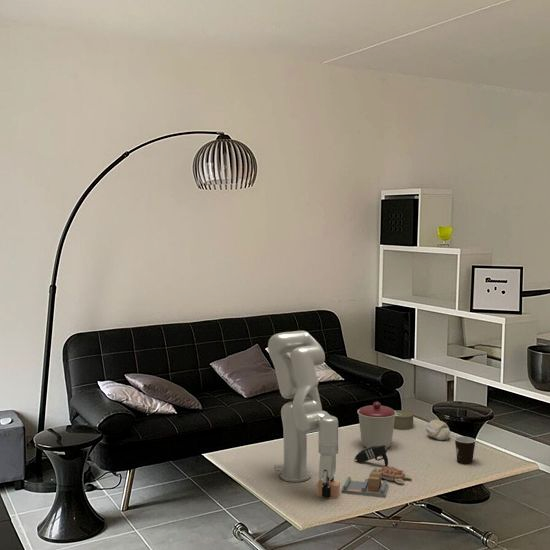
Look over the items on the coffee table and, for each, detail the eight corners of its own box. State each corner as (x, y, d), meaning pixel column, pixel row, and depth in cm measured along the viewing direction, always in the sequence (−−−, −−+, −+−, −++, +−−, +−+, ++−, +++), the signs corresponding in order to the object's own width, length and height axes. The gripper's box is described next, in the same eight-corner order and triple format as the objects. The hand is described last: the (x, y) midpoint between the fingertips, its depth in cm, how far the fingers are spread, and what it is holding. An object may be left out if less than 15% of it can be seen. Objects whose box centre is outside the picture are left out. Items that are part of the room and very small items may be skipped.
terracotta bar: (317, 496, 274) (317, 483, 274) (319, 492, 278) (319, 480, 278) (337, 498, 272) (337, 485, 272) (339, 494, 276) (339, 482, 275)
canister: (377, 455, 319) (378, 409, 317) (348, 445, 333) (349, 401, 331) (404, 447, 330) (404, 402, 328) (375, 437, 344) (375, 394, 342)
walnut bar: (371, 483, 284) (371, 471, 283) (381, 484, 283) (381, 472, 282) (368, 490, 276) (368, 478, 276) (378, 492, 275) (378, 479, 275)
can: (418, 428, 360) (418, 414, 359) (400, 431, 354) (400, 418, 353) (402, 421, 370) (403, 409, 369) (384, 425, 364) (384, 412, 363)
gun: (363, 473, 312) (353, 452, 314) (394, 463, 304) (384, 441, 306) (360, 475, 310) (350, 454, 311) (391, 465, 302) (381, 443, 303)
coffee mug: (474, 466, 305) (474, 443, 304) (453, 464, 308) (454, 441, 307) (475, 457, 316) (476, 435, 315) (455, 455, 319) (456, 433, 318)
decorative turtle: (384, 468, 304) (384, 457, 304) (419, 477, 294) (419, 465, 293) (361, 480, 290) (361, 468, 290) (396, 490, 280) (397, 478, 280)
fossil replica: (446, 443, 336) (452, 439, 344) (448, 426, 335) (455, 422, 344) (421, 437, 342) (429, 433, 351) (424, 420, 342) (431, 417, 350)
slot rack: (341, 492, 277) (341, 486, 277) (346, 482, 288) (346, 476, 287) (385, 497, 272) (385, 490, 272) (388, 486, 283) (388, 480, 283)
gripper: (323, 440, 283) (323, 484, 284) (313, 455, 266) (313, 501, 268) (342, 442, 281) (342, 486, 282) (333, 456, 264) (333, 503, 266)
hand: (328, 493), depth 275 cm, fingers open, 6 cm apart
